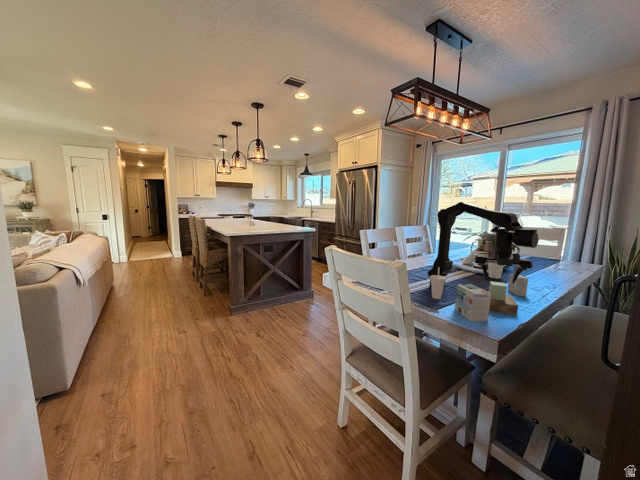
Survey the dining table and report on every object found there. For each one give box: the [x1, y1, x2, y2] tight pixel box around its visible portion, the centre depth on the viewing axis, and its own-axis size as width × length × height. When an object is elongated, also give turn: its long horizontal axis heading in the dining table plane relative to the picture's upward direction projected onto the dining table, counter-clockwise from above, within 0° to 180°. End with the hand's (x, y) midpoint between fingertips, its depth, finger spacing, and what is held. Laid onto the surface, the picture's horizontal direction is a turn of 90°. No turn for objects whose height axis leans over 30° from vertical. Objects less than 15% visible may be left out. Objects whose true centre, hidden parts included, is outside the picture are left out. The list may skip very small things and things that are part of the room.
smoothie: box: [430, 267, 447, 300], centre depth 116 cm, size 6×6×14 cm
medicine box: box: [507, 273, 529, 297], centre depth 124 cm, size 8×4×9 cm, turn 168°
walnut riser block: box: [489, 294, 519, 316], centre depth 107 cm, size 12×12×4 cm
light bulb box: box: [454, 283, 491, 322], centre depth 98 cm, size 11×7×11 cm, turn 5°
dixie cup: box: [487, 260, 505, 280], centre depth 151 cm, size 8×8×10 cm
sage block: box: [488, 281, 508, 301], centre depth 106 cm, size 5×5×6 cm
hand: (499, 281), depth 106 cm, fingers open, 9 cm apart
